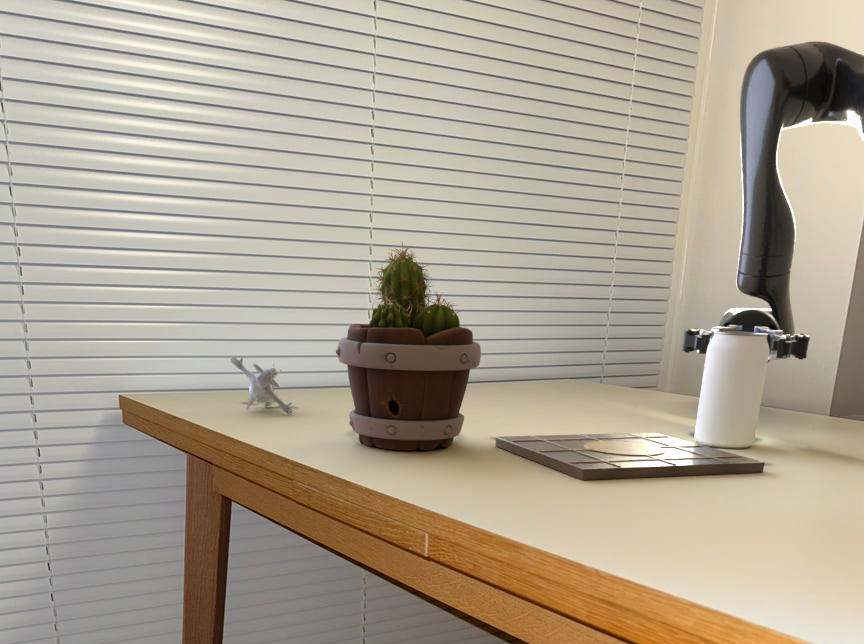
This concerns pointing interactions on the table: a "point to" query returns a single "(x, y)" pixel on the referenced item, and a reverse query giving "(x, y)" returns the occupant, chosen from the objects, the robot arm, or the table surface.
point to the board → (626, 455)
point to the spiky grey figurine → (262, 385)
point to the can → (732, 389)
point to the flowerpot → (408, 364)
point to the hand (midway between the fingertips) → (741, 346)
